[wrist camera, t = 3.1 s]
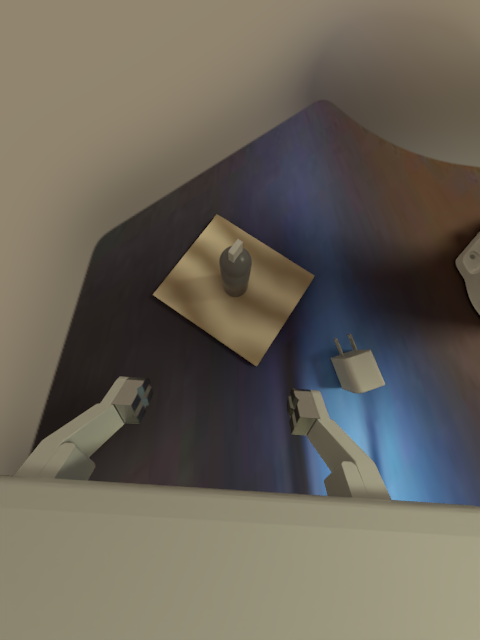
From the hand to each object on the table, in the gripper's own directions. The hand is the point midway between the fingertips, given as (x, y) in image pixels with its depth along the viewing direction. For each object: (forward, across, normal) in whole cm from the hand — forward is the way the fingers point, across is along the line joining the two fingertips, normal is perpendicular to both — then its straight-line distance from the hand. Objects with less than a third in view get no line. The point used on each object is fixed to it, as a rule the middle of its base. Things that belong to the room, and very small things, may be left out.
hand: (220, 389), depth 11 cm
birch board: (+20, 0, +3) cm, 20 cm away
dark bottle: (+19, 0, +2) cm, 19 cm away
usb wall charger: (+13, -16, +10) cm, 23 cm away
